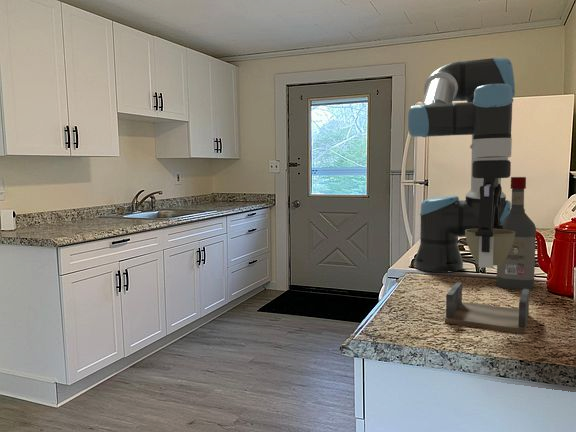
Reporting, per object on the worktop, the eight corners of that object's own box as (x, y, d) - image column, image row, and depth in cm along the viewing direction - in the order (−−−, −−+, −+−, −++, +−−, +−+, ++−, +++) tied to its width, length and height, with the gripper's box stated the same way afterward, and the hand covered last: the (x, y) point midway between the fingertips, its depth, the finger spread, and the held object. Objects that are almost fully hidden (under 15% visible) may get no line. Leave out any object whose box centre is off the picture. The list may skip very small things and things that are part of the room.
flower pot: (520, 269, 98) (521, 234, 97) (468, 268, 100) (469, 234, 99) (507, 259, 108) (508, 227, 107) (461, 258, 110) (461, 227, 109)
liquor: (533, 291, 126) (537, 177, 123) (495, 288, 130) (498, 177, 127) (534, 283, 134) (537, 176, 131) (498, 280, 138) (501, 176, 135)
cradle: (457, 305, 115) (457, 281, 114) (528, 314, 107) (529, 288, 107) (445, 322, 103) (445, 295, 102) (524, 333, 95) (525, 304, 95)
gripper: (480, 160, 113) (478, 252, 115) (463, 159, 94) (461, 271, 96) (515, 159, 109) (512, 255, 112) (505, 158, 90) (502, 274, 92)
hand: (489, 262), depth 104 cm, fingers closed on flower pot, 10 cm apart
